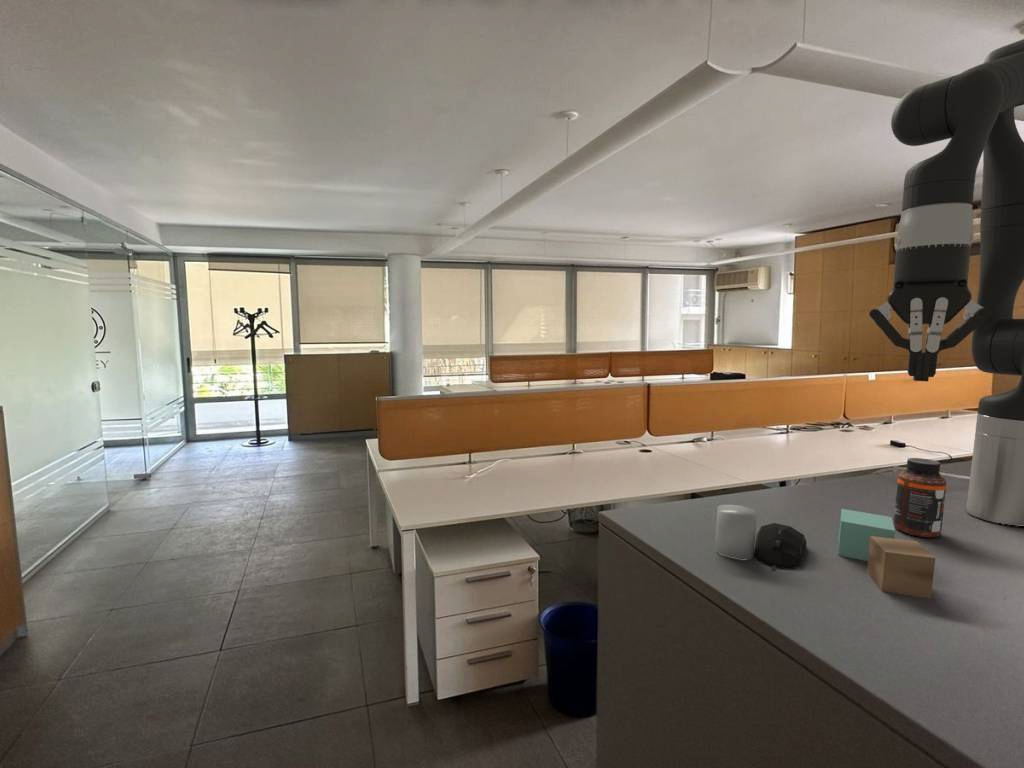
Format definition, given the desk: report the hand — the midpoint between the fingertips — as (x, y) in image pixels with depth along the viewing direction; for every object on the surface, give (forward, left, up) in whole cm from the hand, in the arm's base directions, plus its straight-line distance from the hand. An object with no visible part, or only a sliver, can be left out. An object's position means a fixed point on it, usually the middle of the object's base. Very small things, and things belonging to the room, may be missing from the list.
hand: (920, 380), depth 69 cm
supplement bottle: (-14, +3, -25) cm, 29 cm away
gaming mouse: (+8, -14, -25) cm, 30 cm away
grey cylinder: (+10, -20, -25) cm, 33 cm away
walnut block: (+9, -1, -25) cm, 26 cm away
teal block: (0, -4, -25) cm, 25 cm away
